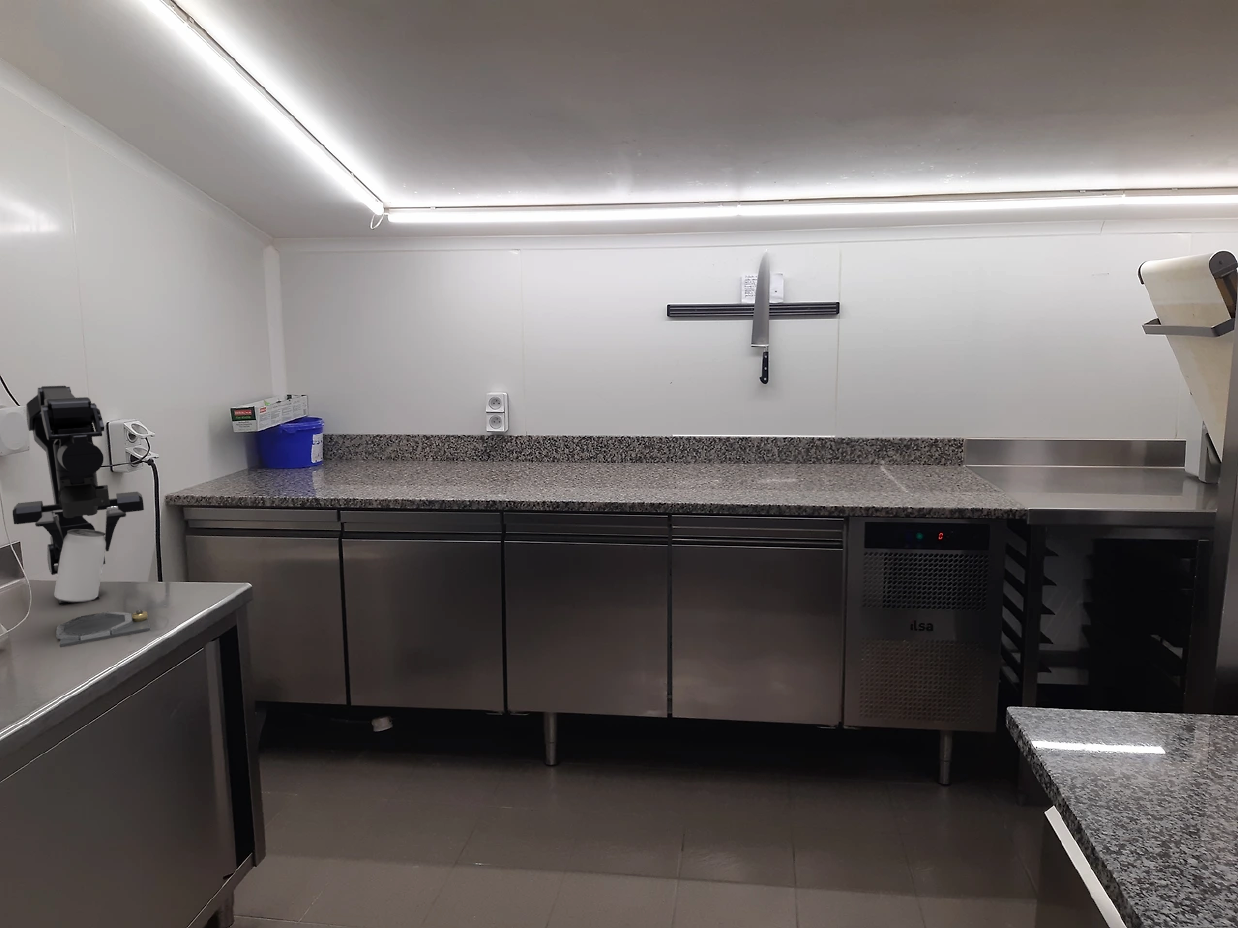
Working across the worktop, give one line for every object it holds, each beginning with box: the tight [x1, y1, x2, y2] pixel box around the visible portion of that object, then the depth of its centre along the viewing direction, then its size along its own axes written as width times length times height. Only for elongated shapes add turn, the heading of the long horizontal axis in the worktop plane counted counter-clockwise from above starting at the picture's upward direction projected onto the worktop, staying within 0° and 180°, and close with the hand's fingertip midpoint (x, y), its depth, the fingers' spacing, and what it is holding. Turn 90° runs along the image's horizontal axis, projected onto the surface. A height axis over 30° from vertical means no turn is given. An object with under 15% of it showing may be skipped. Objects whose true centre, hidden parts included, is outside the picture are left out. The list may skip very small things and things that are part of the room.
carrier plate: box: [59, 612, 151, 648], centre depth 134 cm, size 10×13×1 cm
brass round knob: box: [132, 608, 149, 622], centre depth 137 cm, size 2×2×2 cm
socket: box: [55, 610, 132, 641], centre depth 133 cm, size 11×11×1 cm
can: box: [53, 529, 106, 603], centre depth 134 cm, size 6×6×12 cm
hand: (86, 553), depth 134 cm, fingers closed on can, 6 cm apart
